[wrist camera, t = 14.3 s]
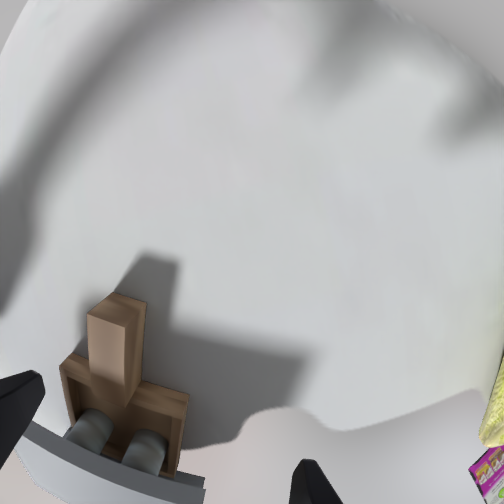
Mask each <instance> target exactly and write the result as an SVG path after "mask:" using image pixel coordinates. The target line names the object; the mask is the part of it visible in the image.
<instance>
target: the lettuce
mask: <svg viewBox="0 0 504 504" xmlns="http://www.w3.org/2000/svg"><path fill="white" fill-rule="evenodd" d="M479 439H480V440H481V442H482V443H483V445H485V446H486V447H489V448H493V447H497V446H502V445H504V357H503V360H502V364H501V367H500V370H499V373H498V376H497V379H496V382H495V385H494V388H493V392H492V395H491V398H490V401H489V404H488V407H487V409H486V412H485V415H484V418H483V421H482V424H481V427H480V430H479Z"/></svg>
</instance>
